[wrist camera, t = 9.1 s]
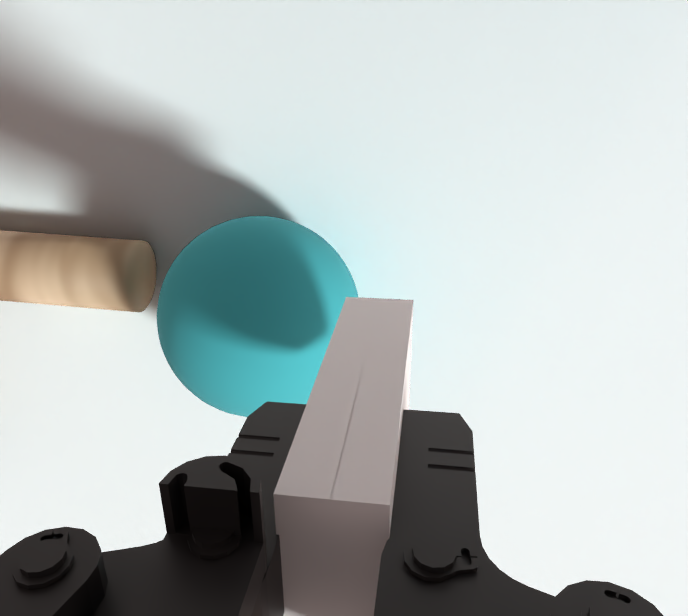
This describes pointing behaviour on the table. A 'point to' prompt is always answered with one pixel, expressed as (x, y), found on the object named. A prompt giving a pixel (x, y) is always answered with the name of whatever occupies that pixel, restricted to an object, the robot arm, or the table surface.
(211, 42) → the table surface
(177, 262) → the ball
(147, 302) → the pin
